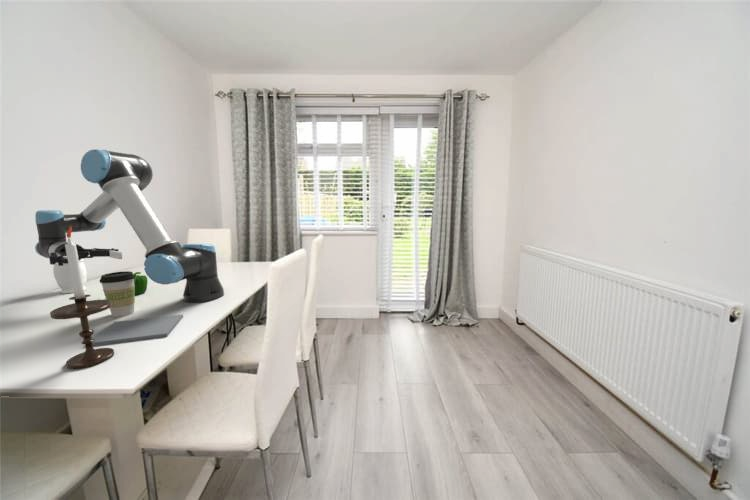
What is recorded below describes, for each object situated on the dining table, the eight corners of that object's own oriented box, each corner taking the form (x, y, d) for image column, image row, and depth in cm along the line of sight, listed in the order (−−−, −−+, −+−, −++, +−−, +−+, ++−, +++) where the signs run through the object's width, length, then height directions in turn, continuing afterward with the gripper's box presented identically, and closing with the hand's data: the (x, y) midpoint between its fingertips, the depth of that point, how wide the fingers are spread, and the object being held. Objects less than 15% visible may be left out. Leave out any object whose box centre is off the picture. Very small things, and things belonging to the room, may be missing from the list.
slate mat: (183, 317, 105) (182, 314, 104) (167, 336, 90) (166, 333, 89) (114, 324, 98) (114, 321, 98) (85, 346, 83) (84, 343, 83)
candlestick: (128, 347, 83) (108, 223, 77) (97, 369, 72) (71, 227, 66) (85, 350, 81) (62, 224, 76) (47, 373, 71) (17, 228, 65)
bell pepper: (119, 296, 129) (116, 273, 127) (138, 290, 137) (135, 269, 135) (134, 297, 127) (131, 274, 125) (153, 291, 135) (150, 270, 133)
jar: (50, 294, 132) (44, 261, 130) (77, 287, 142) (71, 257, 140) (70, 295, 131) (63, 262, 128) (95, 288, 141) (90, 257, 138)
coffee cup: (120, 320, 102) (113, 278, 100) (98, 318, 104) (90, 277, 102) (147, 309, 112) (141, 271, 109) (126, 308, 114) (120, 270, 111)
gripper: (106, 256, 128) (137, 262, 120) (22, 267, 105) (54, 276, 97) (104, 239, 126) (136, 244, 119) (18, 247, 104) (51, 254, 96)
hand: (99, 258), depth 108 cm, fingers open, 13 cm apart
